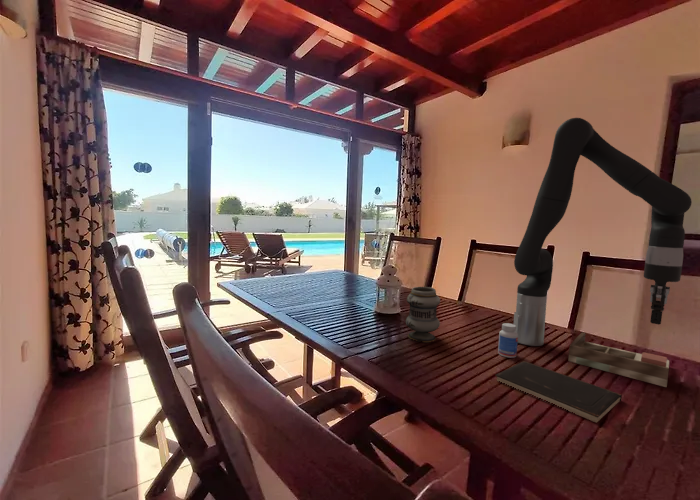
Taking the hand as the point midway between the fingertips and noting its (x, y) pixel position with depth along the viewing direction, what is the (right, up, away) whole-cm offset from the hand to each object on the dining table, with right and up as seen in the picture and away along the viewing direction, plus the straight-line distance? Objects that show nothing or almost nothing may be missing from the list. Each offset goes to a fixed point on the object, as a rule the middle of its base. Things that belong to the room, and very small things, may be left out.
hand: (655, 323), depth 94 cm
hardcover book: (-35, -16, -10) cm, 39 cm away
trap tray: (-6, -14, +6) cm, 16 cm away
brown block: (-3, -13, -3) cm, 13 cm away
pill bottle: (-37, -13, +12) cm, 40 cm away
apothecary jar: (-61, -11, +26) cm, 67 cm away
